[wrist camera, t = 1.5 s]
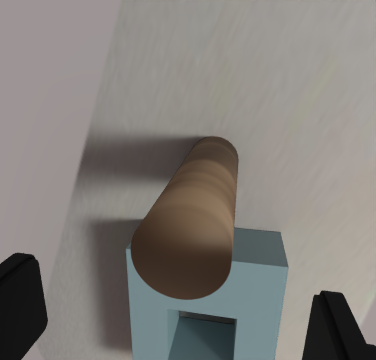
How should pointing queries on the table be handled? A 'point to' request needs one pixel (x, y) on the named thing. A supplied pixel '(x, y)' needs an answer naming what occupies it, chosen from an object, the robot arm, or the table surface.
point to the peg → (191, 225)
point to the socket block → (216, 308)
